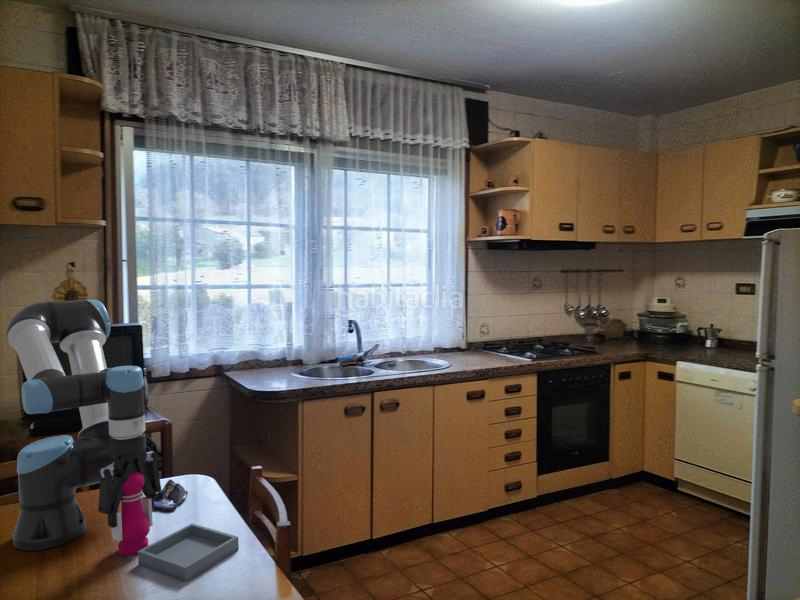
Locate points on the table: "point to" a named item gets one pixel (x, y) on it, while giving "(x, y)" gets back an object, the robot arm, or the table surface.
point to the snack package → (170, 496)
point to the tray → (188, 551)
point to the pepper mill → (133, 516)
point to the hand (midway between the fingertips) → (132, 531)
